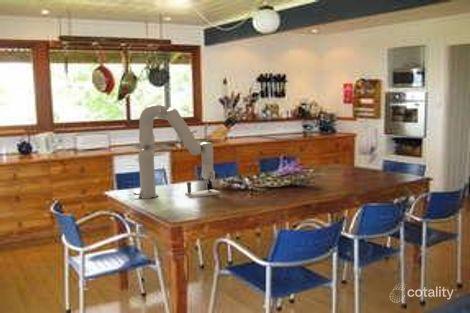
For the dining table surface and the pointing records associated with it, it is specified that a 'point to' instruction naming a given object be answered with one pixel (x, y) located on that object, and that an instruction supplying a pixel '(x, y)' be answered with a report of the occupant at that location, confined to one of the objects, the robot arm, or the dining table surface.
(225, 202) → the dining table surface
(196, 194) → the pitch plate
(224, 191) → the dining table surface
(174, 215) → the dining table surface
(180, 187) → the dining table surface
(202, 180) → the pneumatic valve
